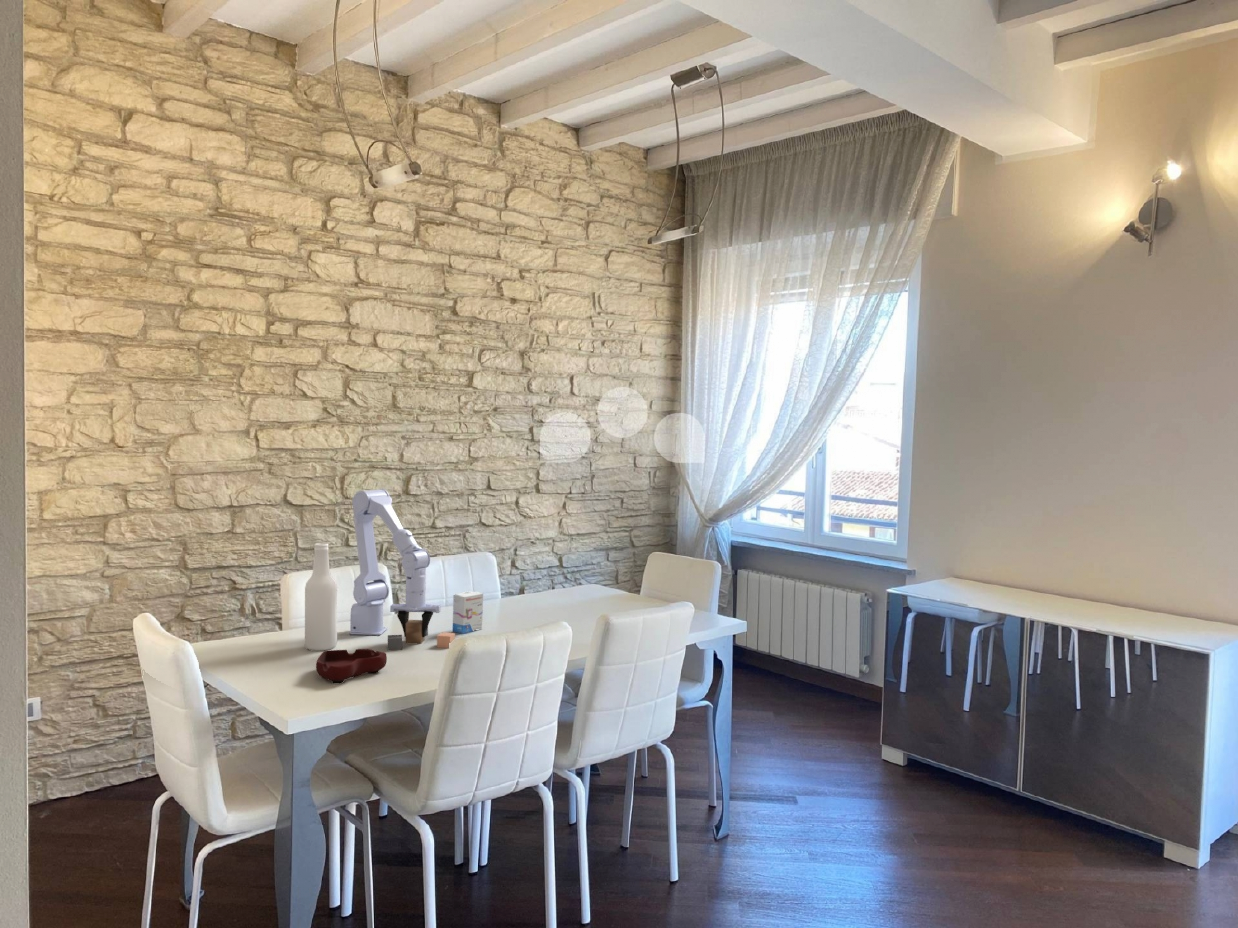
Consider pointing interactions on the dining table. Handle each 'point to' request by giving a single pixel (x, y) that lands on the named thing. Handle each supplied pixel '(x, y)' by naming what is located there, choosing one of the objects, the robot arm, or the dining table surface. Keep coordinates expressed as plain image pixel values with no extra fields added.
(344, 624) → the dining table surface
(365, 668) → the ashtray
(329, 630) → the white bottle
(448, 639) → the terracotta block
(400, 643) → the charcoal rubber block
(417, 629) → the walnut block
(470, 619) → the ink box
